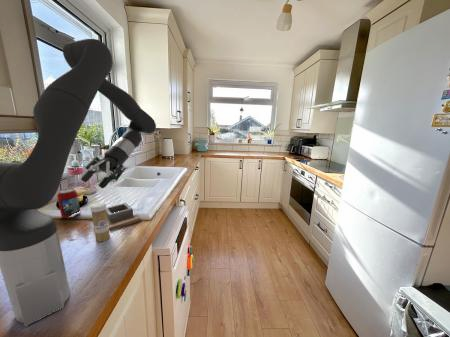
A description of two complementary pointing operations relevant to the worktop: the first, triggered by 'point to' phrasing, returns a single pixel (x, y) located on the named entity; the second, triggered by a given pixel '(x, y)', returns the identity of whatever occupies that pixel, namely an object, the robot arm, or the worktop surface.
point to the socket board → (120, 216)
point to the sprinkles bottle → (100, 221)
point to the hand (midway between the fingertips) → (91, 184)
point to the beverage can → (68, 202)
